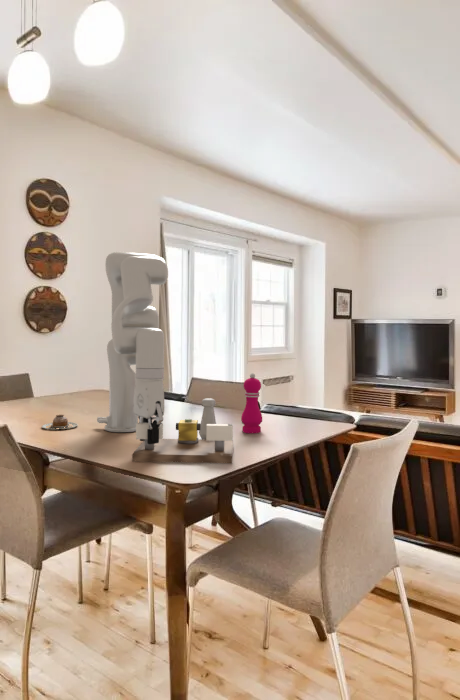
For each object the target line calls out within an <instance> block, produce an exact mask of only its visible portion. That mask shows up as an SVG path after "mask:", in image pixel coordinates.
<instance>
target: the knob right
mask: <svg viewBox="0 0 460 700" xmlns="http://www.w3.org/2000/svg"><path fill="white" fill-rule="evenodd" d="M233 427H234V424H233V423H228V424H227V423H216V424H207V432H206V440H212V441H215V451H224V441H233V442H234V439H233V437H234V436H233V435H234V434H233V433H234V432H233V430H234V428H233Z"/></svg>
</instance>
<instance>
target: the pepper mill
mask: <svg viewBox="0 0 460 700" xmlns="http://www.w3.org/2000/svg"><path fill="white" fill-rule="evenodd" d="M255 377H256V374H255V373H250V374H249V378H246V380H244V382H243V388H244V390H245V392H244V397H245V398H246V399H245V400H246V402H245V407H244V410H243V411H242V413H241V424H243V426H242V433H244V434H259V433H261V431H262V427H261V425H260V424H262V422H263V414H262V412H261V410H260V406H259V397H260V390H261V389H262V383H261V381H260V380H259V379H258V378H255Z"/></svg>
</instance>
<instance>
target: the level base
mask: <svg viewBox="0 0 460 700" xmlns="http://www.w3.org/2000/svg"><path fill="white" fill-rule="evenodd" d="M200 429H201V422H200V423H198V420H197V419H191V418H185V419H180V420H179V422H176V423H175V431H178V438H163V439H159V443H155V444H154V449H152V450H147V449H145V441H141V443H140V445H139V446H138V447H136V449H135V450H134V451H133V453H132V454H131V456H132V458H131V459H132V460H131V461H132V462H137V463H138V462H139V463H140V462H142V463H143V462H144V463H155V462H156V463H184V464H185V463H190V464H192V463H193V464H196V463H197V464H233V453H234V452H233V451H234V440H233V441H224V451H215V441H212V440H202V439H201V438H200V439H199V438H198V434H199V430H200Z"/></svg>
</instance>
